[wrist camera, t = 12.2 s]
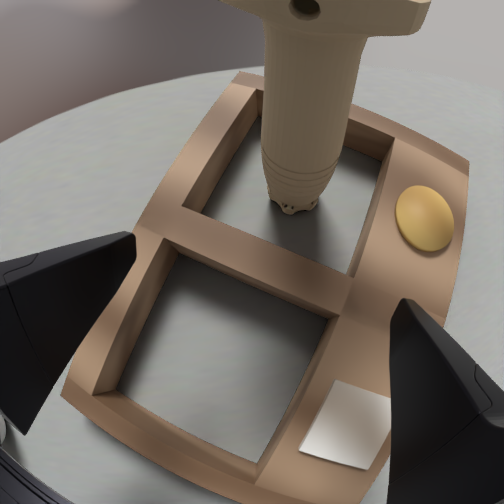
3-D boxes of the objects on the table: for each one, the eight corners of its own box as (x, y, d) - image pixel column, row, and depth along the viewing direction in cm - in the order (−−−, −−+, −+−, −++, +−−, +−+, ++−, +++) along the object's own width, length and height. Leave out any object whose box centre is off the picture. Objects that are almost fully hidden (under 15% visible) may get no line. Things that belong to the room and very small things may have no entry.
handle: (332, 241, 18) (445, 23, 4) (234, 213, 19) (177, -22, 5) (347, 178, 19) (421, -25, 5) (258, 154, 20) (242, -58, 6)
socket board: (331, 506, 13) (341, 532, 10) (86, 390, 16) (56, 396, 13) (450, 180, 19) (471, 158, 16) (243, 97, 22) (239, 67, 19)
